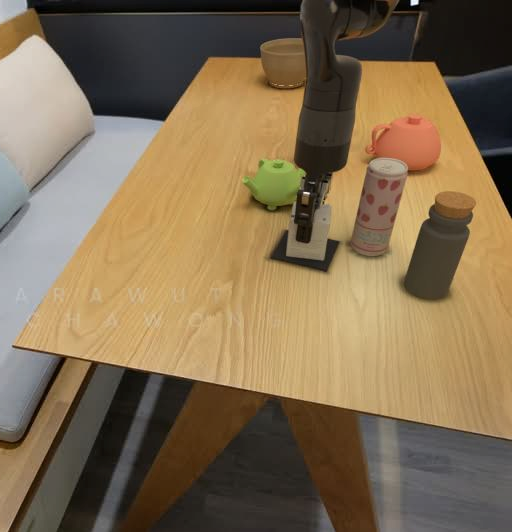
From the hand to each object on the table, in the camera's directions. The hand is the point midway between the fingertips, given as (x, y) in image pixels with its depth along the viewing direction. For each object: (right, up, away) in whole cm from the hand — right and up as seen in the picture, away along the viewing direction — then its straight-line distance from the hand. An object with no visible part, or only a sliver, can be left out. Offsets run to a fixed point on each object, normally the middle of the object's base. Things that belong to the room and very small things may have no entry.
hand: (308, 230), depth 85 cm
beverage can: (+11, -3, +2) cm, 11 cm away
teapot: (0, +6, +16) cm, 17 cm away
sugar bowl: (+28, +16, +24) cm, 40 cm away
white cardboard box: (0, -3, +2) cm, 4 cm away
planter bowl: (+19, +48, +69) cm, 87 cm away
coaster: (0, -3, +3) cm, 4 cm away
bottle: (+15, -9, -7) cm, 19 cm away
